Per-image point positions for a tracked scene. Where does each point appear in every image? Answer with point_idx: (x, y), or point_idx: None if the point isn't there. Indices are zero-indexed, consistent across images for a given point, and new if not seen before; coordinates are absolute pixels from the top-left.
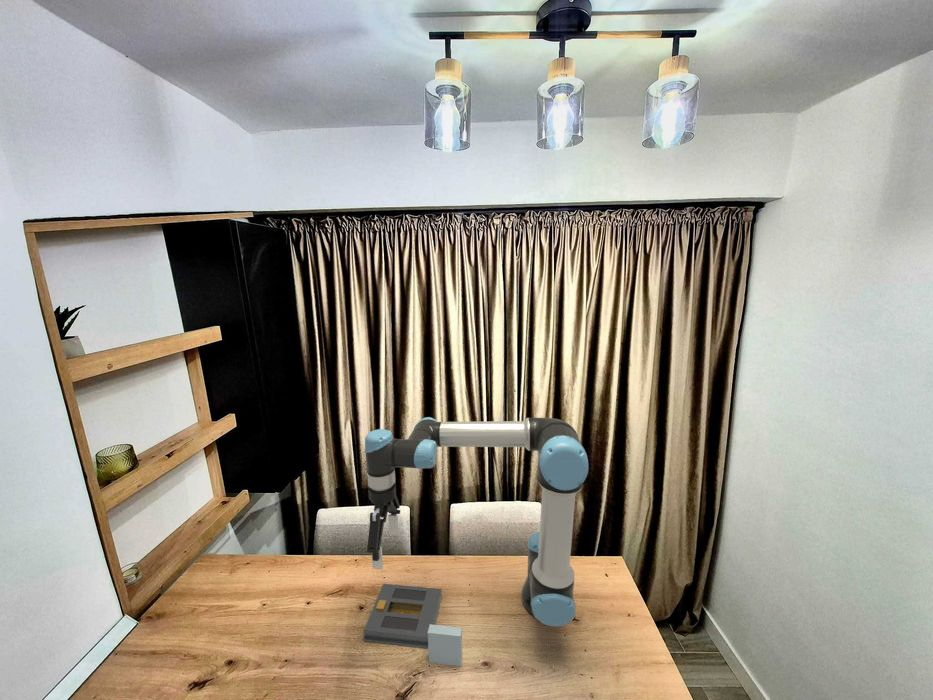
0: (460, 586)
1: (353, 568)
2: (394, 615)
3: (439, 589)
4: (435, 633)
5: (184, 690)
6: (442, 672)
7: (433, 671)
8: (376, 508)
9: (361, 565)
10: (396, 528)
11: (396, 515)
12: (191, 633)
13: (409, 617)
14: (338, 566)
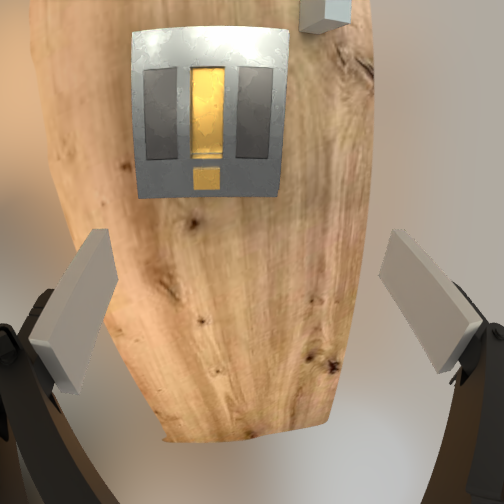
0: (101, 2)
1: None
2: (232, 134)
3: (134, 36)
4: (350, 3)
5: (338, 373)
6: None
7: None
8: None
9: None
10: (91, 264)
11: (38, 344)
12: (269, 406)
13: (234, 92)
14: (109, 308)
